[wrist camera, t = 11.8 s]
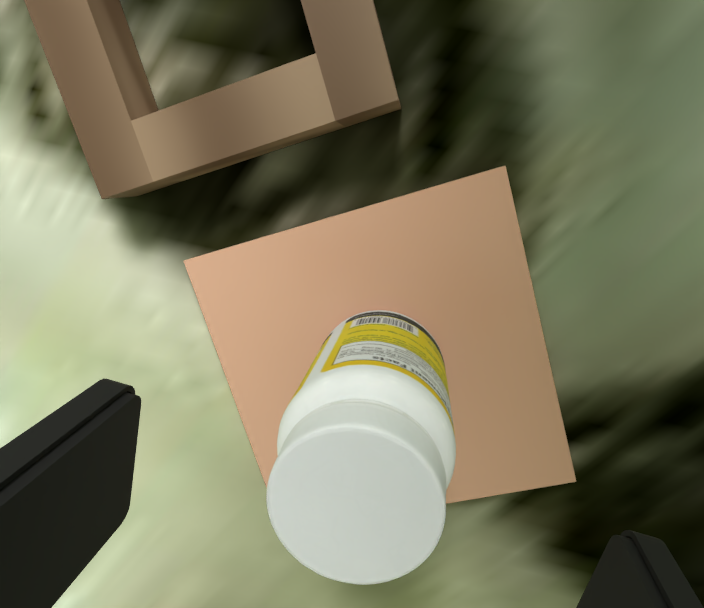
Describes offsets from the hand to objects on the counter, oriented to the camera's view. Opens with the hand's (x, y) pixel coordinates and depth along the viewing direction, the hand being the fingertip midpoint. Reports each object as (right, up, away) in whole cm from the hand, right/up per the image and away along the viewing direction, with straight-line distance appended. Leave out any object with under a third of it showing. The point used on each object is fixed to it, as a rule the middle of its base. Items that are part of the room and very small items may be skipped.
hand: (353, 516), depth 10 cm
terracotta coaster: (+1, +2, +10) cm, 10 cm away
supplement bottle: (+1, +2, +9) cm, 10 cm away
